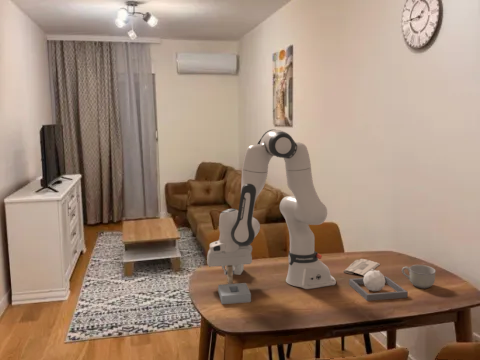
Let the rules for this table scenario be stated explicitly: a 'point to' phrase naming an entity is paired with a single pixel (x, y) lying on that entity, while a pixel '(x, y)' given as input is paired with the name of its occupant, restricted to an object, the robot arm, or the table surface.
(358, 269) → the newspaper
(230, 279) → the wooden peg
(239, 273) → the supplement box
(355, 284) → the grey rectangular frame
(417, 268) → the teacup
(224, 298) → the grey peg hole block
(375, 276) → the decorative ball
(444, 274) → the table surface
